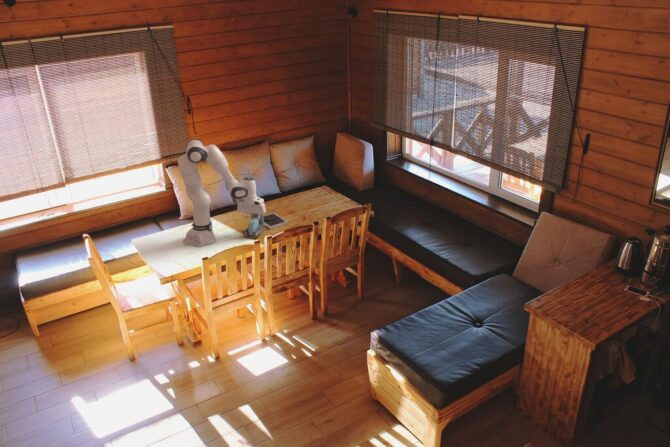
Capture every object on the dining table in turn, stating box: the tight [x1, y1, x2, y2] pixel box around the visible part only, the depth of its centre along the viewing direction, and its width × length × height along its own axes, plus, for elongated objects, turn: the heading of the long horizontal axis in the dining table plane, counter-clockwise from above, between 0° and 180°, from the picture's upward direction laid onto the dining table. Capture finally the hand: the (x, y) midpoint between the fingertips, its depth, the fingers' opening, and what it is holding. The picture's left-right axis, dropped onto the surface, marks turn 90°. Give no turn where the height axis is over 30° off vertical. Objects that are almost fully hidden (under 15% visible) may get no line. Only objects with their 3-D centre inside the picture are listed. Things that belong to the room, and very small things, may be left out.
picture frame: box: [263, 212, 289, 230], centre depth 424 cm, size 16×3×21 cm
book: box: [247, 218, 259, 235], centre depth 405 cm, size 4×11×8 cm, turn 164°
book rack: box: [243, 213, 266, 240], centre depth 405 cm, size 10×15×14 cm, turn 164°
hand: (252, 218), depth 402 cm, fingers open, 8 cm apart
